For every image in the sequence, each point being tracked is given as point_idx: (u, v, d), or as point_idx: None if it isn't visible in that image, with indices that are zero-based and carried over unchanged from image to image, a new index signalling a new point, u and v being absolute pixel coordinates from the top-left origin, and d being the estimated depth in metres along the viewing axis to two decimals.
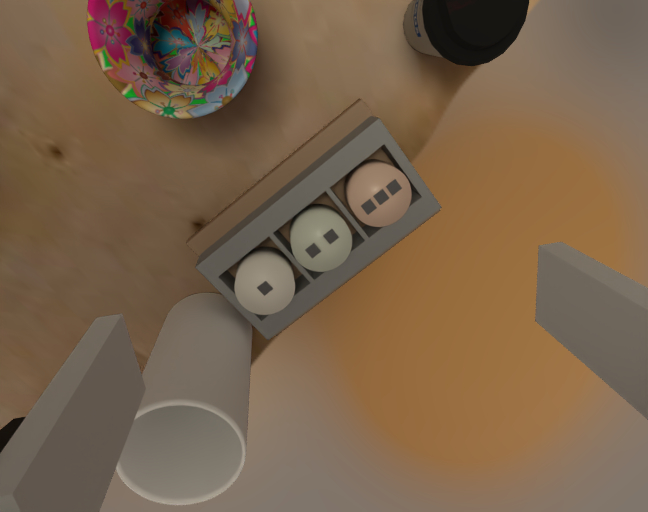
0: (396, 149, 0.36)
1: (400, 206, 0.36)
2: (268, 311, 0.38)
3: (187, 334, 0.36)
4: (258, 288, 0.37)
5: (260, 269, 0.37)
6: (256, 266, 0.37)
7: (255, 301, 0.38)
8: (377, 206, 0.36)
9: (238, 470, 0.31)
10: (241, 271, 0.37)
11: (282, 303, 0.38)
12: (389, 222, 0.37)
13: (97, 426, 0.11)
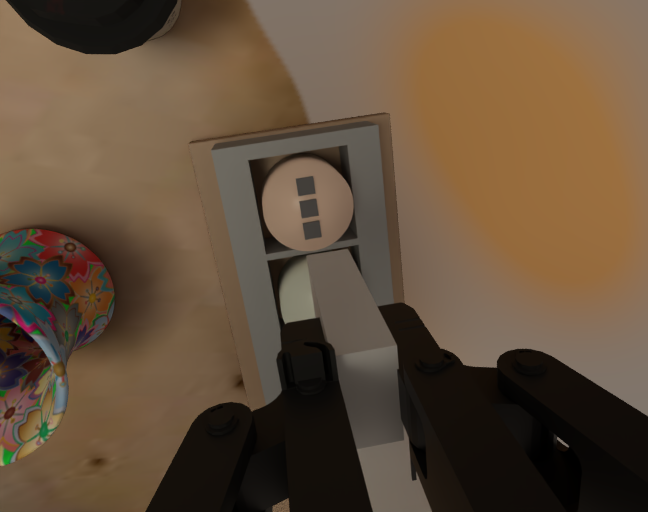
0: (264, 147, 0.25)
1: (336, 189, 0.25)
2: None
3: None
4: None
5: None
6: None
7: None
8: (318, 219, 0.25)
9: None
10: None
11: None
12: (349, 214, 0.25)
13: None
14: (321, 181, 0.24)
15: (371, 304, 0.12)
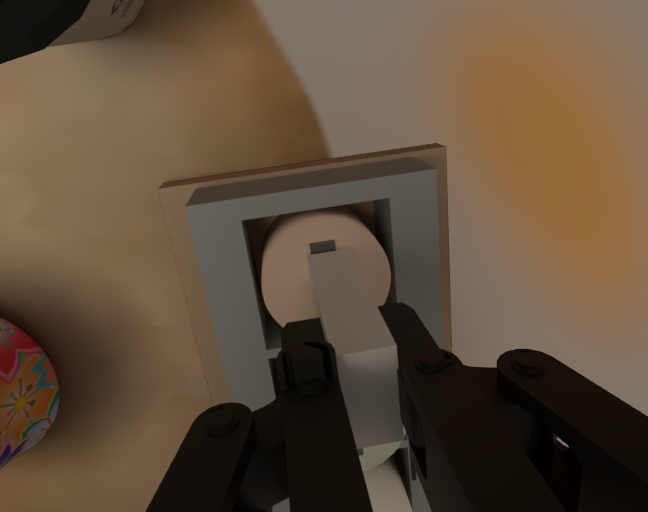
0: (265, 202, 0.17)
1: (367, 257, 0.17)
2: None
3: None
4: None
5: None
6: None
7: None
8: None
9: None
10: None
11: None
12: (384, 291, 0.18)
13: None
14: (346, 247, 0.17)
15: (371, 304, 0.12)
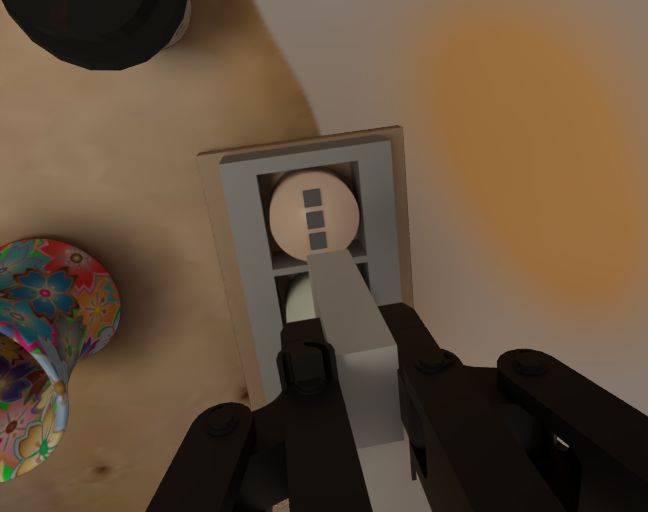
0: (272, 162, 0.24)
1: (342, 201, 0.25)
2: None
3: None
4: None
5: None
6: None
7: None
8: (324, 230, 0.25)
9: None
10: None
11: None
12: (355, 226, 0.25)
13: None
14: (327, 193, 0.25)
15: (371, 304, 0.12)
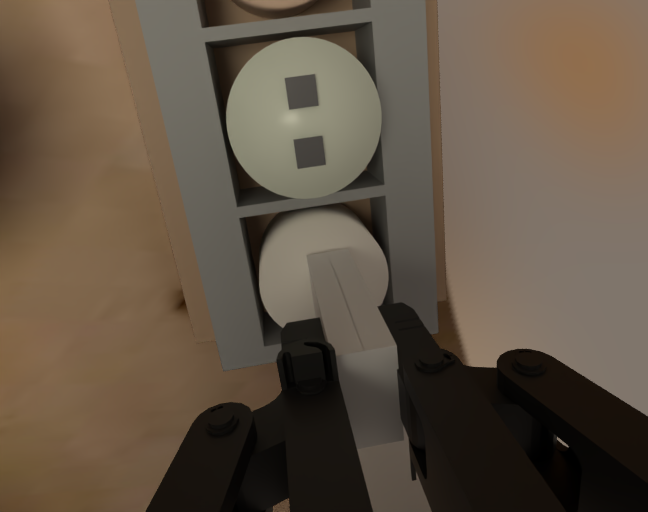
0: None
1: None
2: None
3: None
4: None
5: (283, 270, 0.17)
6: (272, 273, 0.17)
7: None
8: None
9: None
10: (266, 304, 0.17)
11: (376, 269, 0.17)
12: None
13: None
14: None
15: (371, 304, 0.12)
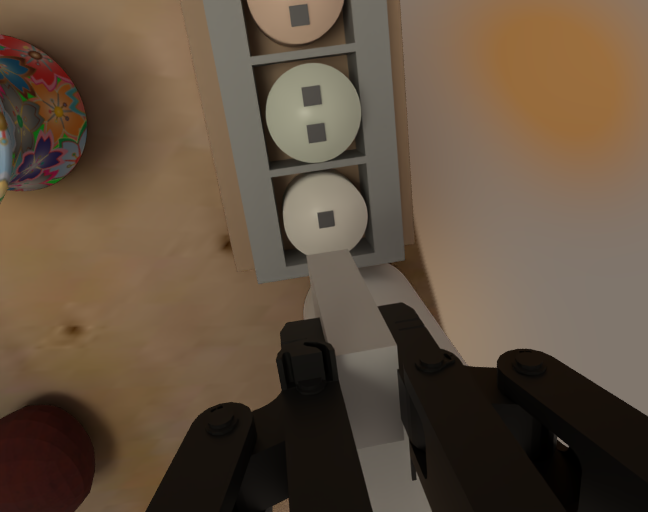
0: None
1: None
2: (358, 233, 0.27)
3: None
4: (320, 227, 0.27)
5: (299, 210, 0.26)
6: (292, 212, 0.26)
7: (335, 239, 0.27)
8: (306, 2, 0.23)
9: None
10: (287, 233, 0.27)
11: (359, 211, 0.27)
12: None
13: None
14: None
15: (371, 304, 0.12)
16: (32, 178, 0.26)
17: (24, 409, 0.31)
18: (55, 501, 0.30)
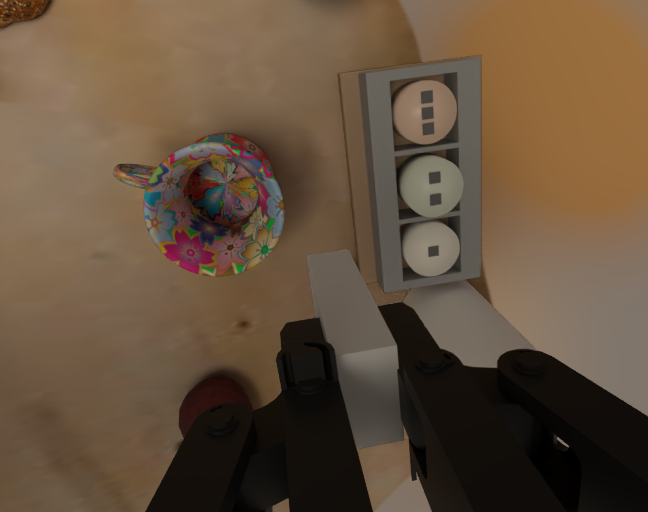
0: (401, 72, 0.36)
1: (446, 100, 0.36)
2: (453, 259, 0.41)
3: None
4: (429, 256, 0.41)
5: (416, 245, 0.40)
6: (412, 246, 0.40)
7: (438, 263, 0.41)
8: (432, 121, 0.37)
9: None
10: (408, 260, 0.41)
11: (455, 245, 0.41)
12: (453, 118, 0.37)
13: None
14: (437, 94, 0.36)
15: (371, 304, 0.12)
16: None
17: (213, 379, 0.45)
18: None
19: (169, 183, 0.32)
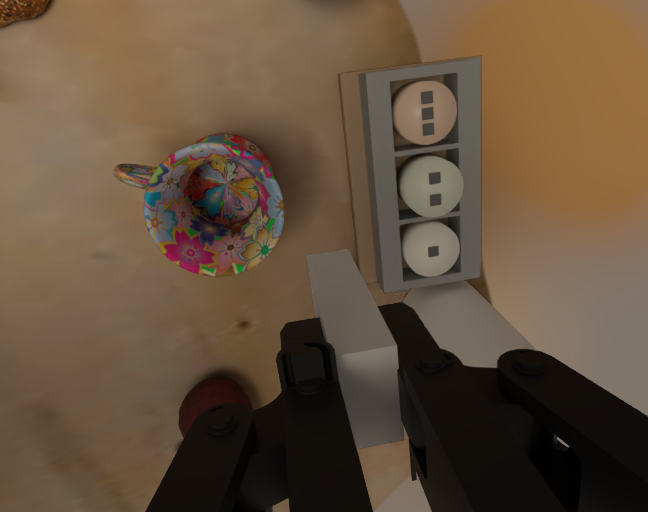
0: (401, 72, 0.36)
1: (446, 100, 0.37)
2: (453, 260, 0.41)
3: None
4: (429, 256, 0.41)
5: (416, 245, 0.40)
6: (412, 247, 0.40)
7: (438, 264, 0.41)
8: (432, 121, 0.37)
9: None
10: (408, 260, 0.41)
11: (454, 246, 0.41)
12: (453, 119, 0.37)
13: None
14: (437, 94, 0.36)
15: (371, 304, 0.12)
16: None
17: (213, 379, 0.45)
18: None
19: (169, 183, 0.32)
